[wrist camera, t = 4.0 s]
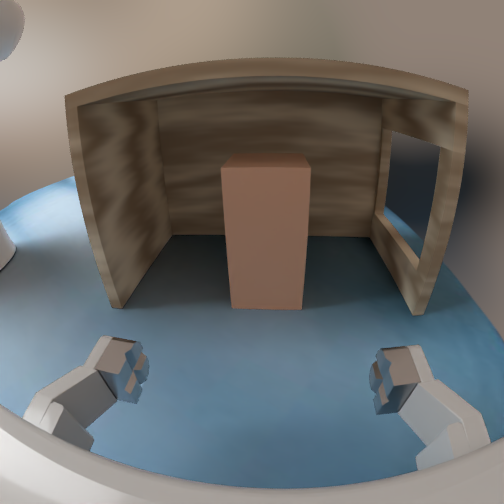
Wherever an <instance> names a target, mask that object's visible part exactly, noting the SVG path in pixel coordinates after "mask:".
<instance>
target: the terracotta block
mask: <svg viewBox="0 0 504 504" xmlns="http://www.w3.org/2000/svg"><path fill="white" fill-rule="evenodd" d="M221 179H222V195H223V209H224V223H225V236H226V248H227V261H228V272H229V284H230V295H231V306H232V308H238V309H270V310H302V300H303V289H304V278H305V266H306V253H307V238H308V222H309V203H310V179H311V167H310V166H309V164H308V162H307V160H306V158H305V156H304V154H302V153H235V154H233V155H232V156H231V157H230V158H229V159H228V160H227V162H226V163H225V164H224V165H223V166H222V167H221Z"/></svg>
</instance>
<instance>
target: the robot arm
mask: <svg viewBox="0 0 504 504" xmlns="http://www.w3.org/2000/svg"><path fill="white" fill-rule="evenodd" d="M23 29H24V13H23V10H22V8H21V6H20V5H19V4H18V3H17V2H15V1H14V0H0V61H2V60H4V59H6V58H7V57H8V56H9V55H10V54H11V53H12V51H13V50H14V49H15V47H16V46H17V44H18V42H19V40H20V38H21V36H22V33H23ZM15 250H16V246H15V245H14V243H13V242H12V240H11V239H10V237H9V236H8V234H7V232H6V230H5V228H4V227H3V224H2V222H1V220H0V270H1V269H2V268H3V267H4V266H5V265H6V264H7V263H8V262H9V260H10V259H11V258H12V256H13V255H14V253H15ZM142 350H143V347H142V345H141V343H140V342H138V341H133V340H127V339H122V338H116V337H111V336H105V335H103V336H102V337H100V338H99V340H98V342H97V343H96V345H95V347H94V348H93V350H92V352H91V353H90V355H89V357H88V358H87V360H86V362H85V363H84V365H83V366H78V367H77V368H75V369H74V370H72V371H70V372H69V373H67V374H65V375H64V376H62V377H61V378H59V379H57V380H56V381H54V382H53V383H51V384H49V385H48V386H46V387H44V388H43V389H41V390H40V391H38V392H36V394H35V396H34V397H33V399H32V401H31V403H30V404H29V406H28V408H27V410H26V412H25V413H24V415H23V417H22V418H21V417H20V416H18V415H16V414H15V413H13V412H12V411H10V410H9V409H7V408H5V407H4V406H2V405H1V404H0V504H504V437H502V438H500V439H498V440H496V441H494V442H492V443H491V441H490V438H489V435H488V432H487V429H486V426H485V423H484V421H483V418H482V415H481V413H480V412H479V411H477V410H476V409H475V408H474V407H472V406H471V405H470V404H469V403H467V402H466V401H465V400H464V399H462V398H461V397H460V396H459V395H457V394H456V393H455V392H454V391H452V390H451V389H450V388H449V387H447V386H446V385H445V384H443V383H442V382H441V381H440V380H438V379H437V380H435V379H434V377H433V374H432V372H431V369H430V367H429V364H428V362H427V360H426V357H425V355H424V353H423V350H422V348H421V346H420V345H411V346H400V347H391V348H381V349H379V350H378V351H377V354H376V359H377V361H376V362H374V363H373V364H372V366H371V369H370V375H369V382H370V387H371V390H372V391H373V392H375V393H376V395H375V397H374V399H373V402H374V406H375V411H376V415H381V414H389V413H396V412H398V414H399V415H400V416H401V417H402V419H403V420H404V421H405V422H406V423H407V424H408V425H409V426H410V428H411V429H412V430H413V431H414V432H415V433H416V434H417V436H418V437H419V438H420V439H421V440H422V441H423V442H424V443H425V445H426V447H425V448H424V449H423V450H422V451H421V452H420V453H418V455H417V456H416V457H415V458H416V463H417V469H418V471H414V472H410V473H406V474H402V475H398V476H394V477H389V478H384V479H379V480H374V481H368V482H362V483H355V484H348V485H340V486H330V487H317V488H293V489H273V488H249V487H236V486H226V485H218V484H210V483H203V482H197V481H191V480H186V479H181V478H176V477H171V476H167V475H162V474H158V473H154V472H150V471H147V470H143V469H139V468H136V467H133V466H129V465H126V464H123V463H120V462H117V461H114V460H111V459H108V458H105V457H103V456H100V455H97V454H95V453H92V452H90V449H91V447H92V444H93V441H94V439H93V436H92V435H91V434H89V433H88V432H87V431H86V430H85V429H86V428H87V427H88V426H89V425H90V424H92V423H93V422H94V421H95V420H96V419H97V418H98V417H100V416H101V415H102V414H103V413H104V412H105V411H106V410H108V409H109V408H110V407H111V406H112V405H113V404H115V403H116V402H117V400H120V401H125V402H129V403H134V404H137V402H138V400H139V397H140V395H141V392H142V387H141V384H142V383H143V382H145V381H146V380H147V377H148V374H149V361H148V359H147V356H145V355H144V354H143V353H142Z"/></svg>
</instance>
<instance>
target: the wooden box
mask: <svg viewBox="0 0 504 504" xmlns="http://www.w3.org/2000/svg"><path fill="white" fill-rule="evenodd" d="M65 107H66V119H67V128H68V138H69V145H70V152H71V158H72V165H73V170H74V176H75V181H76V186H77V191H78V196H79V200H80V205H81V209H82V213H83V217H84V221H85V225H86V229H87V233H88V237H89V240H90V244H91V247H92V250H93V254H94V257H95V260H96V263H97V267H98V270H99V273H100V276H101V279H102V282H103V284H104V287H105V290H106V293H107V296H108V298H109V301H110V304H111V306H112V308H120V309H122V308H123V307H124V305H125V304H126V302H127V301H128V299H129V297H130V296H131V294H132V293H133V291H134V290H135V288H136V287H137V285H138V284H139V282H140V281H141V279H142V278H143V276H144V275H145V273H146V272H147V270H148V269H149V268H150V266H151V265H152V263H153V262H154V260H155V259H156V257H157V256H158V255H159V253H160V252H161V250H162V249H163V248H164V246H165V245H166V243H167V242H168V241H169V239H170V238H171V236H172V235H225V223H224V209H223V195H222V179H221V167H222V166H223V165H224V164H225V163H226V162H227V160H228V159H229V158H230V157H231V156H232V155H233V154H235V153H302V154H304V156H305V158H306V160H307V162H308V164H309V166H310V167H311V179H310V203H309V222H308V236H340V237H370V239H371V240H372V242H373V244H374V245H375V247H376V249H377V251H378V252H379V254H380V256H381V257H382V259H383V261H384V263H385V264H386V266H387V268H388V270H389V272H390V273H391V275H392V277H393V279H394V281H395V282H396V284H397V286H398V288H399V290H400V292H401V294H402V296H403V298H404V300H405V302H406V303H407V305H408V307H409V309H410V311H411V313H412V316H414V315H423V314H424V312H425V309H426V307H427V304H428V302H429V299H430V296H431V294H432V291H433V288H434V285H435V282H436V279H437V276H438V273H439V270H440V267H441V264H442V261H443V257H444V254H445V251H446V247H447V243H448V240H449V236H450V232H451V228H452V224H453V220H454V215H455V211H456V205H457V201H458V196H459V190H460V184H461V179H462V172H463V165H464V157H465V149H466V138H467V124H468V90H466V89H463V88H460V87H458V86H455V85H452V84H449V83H445V82H442V81H439V80H435V79H432V78H428V77H425V76H421V75H417V74H413V73H409V72H404V71H399V70H395V69H389V68H385V67H379V66H373V65H367V64H360V63H353V62H345V61H336V60H325V59H310V58H276V57H275V58H241V59H226V60H216V61H207V62H199V63H191V64H184V65H177V66H172V67H166V68H161V69H155V70H151V71H146V72H142V73H137V74H133V75H129V76H125V77H121V78H118V79H114V80H111V81H107V82H104V83H100V84H97V85H94V86H91V87H88V88H85V89H82V90H79V91H76V92H73V93H71V94H68V95H65ZM392 131H395V132H398V133H401V134H405V135H408V136H411V137H414V138H417V139H420V140H423V141H426V142H429V143H432V144H435V145H438V146H440V157H439V165H438V173H437V180H436V187H435V193H434V198H433V204H432V209H431V214H430V219H429V224H428V228H427V233H426V237H425V241H424V245H423V249H422V253H421V257H420V260H419V258H418V257H417V256H416V254H415V253H414V252H413V250H412V249H411V248H410V246H409V245H408V244H407V243H406V241H405V240H404V239H403V238H402V236H401V235H400V234H399V233H398V231H397V230H396V229H395V228H394V226H393V225H392V224H391V223H390V222H389V220H388V219H387V218H386V217H385V216H384V214H383V213H384V206H385V198H386V191H387V183H388V174H389V163H390V152H391V138H392Z"/></svg>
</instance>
